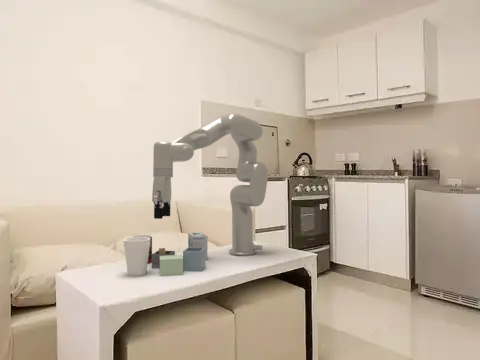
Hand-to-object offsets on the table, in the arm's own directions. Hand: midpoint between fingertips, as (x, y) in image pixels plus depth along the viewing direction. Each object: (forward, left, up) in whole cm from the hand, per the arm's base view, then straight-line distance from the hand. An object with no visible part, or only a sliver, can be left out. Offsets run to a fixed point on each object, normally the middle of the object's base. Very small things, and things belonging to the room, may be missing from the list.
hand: (162, 217), depth 145 cm
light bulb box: (-10, -16, -20) cm, 28 cm away
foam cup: (+6, +12, -20) cm, 24 cm away
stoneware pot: (-13, +3, -20) cm, 24 cm away
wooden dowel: (0, 0, -19) cm, 19 cm away
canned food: (+11, -6, -20) cm, 23 cm away
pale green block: (-6, +10, -20) cm, 23 cm away
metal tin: (0, 0, -20) cm, 20 cm away
